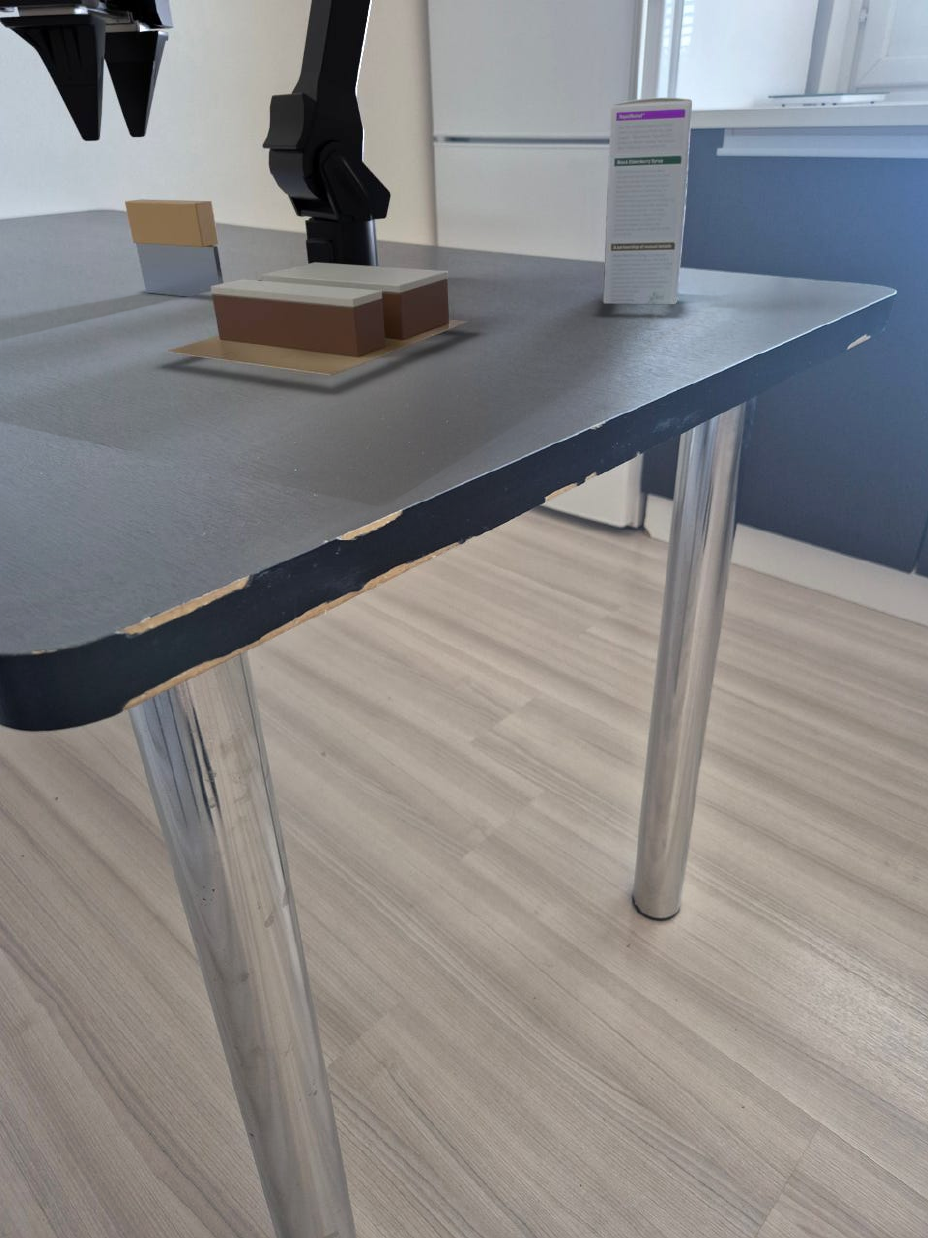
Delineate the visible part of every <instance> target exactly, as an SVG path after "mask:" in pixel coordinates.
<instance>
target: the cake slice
mask: <svg viewBox="0 0 928 1238" xmlns="http://www.w3.org/2000/svg"><path fill="white" fill-rule="evenodd" d="M210 292H211V297H212V302H213V308H214V315H215V320H216V326H217V331H218V336H219V338H220V340H228V341H235V342H243V343H251V344H259V345H267V346H275V347H283V348H290V349H298V350H306V351H314V352H322V353H330V354H338V355H345V356H353V357H360V356H363V355H365V354H368V353H371V352H373V351H376V350H378V349H381V348H384V347H385V346H386V345H385V332H384V318H383V305H382V292H381V291H380V290H367V289H355V288H343V287H331V286H318V285H306V284H294V283H282V282H269V281H262V280H256V279H243V278H241V279H237V280H233V281H227V282H224V283H223V284H219V285H214V286H211V291H210Z"/></svg>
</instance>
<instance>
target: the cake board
mask: <svg viewBox="0 0 928 1238" xmlns="http://www.w3.org/2000/svg"><path fill="white" fill-rule="evenodd" d="M468 322H469V321H467V320H458V319H449V323H446V324H444V325H441V326H438V327H436V328H433V329H431V330H428V331H425V332H423V333H420V334H417V335H415V336H412V337H409V338H407V339H404V340H398V339H389V338H385V345H386V346H385V347H384V348H381V349H378V350H376V351H373V352H371V353H368V354H365V355H363V356H360V357H353V356H345V355H338V354H330V353H322V352H314V351H306V350H298V349H290V348H283V347H275V346H267V345H259V344H251V343H243V342H235V341H228V340H220V338H219V335H217V336H214V337H209V338H206V339H203V340H200V341H197V342H193V343H190V344H185V345H182V346H179V347H176V348H172V349H168V350H166V351H165V353H169V354H177V355H183V356H184V355H185V356H192V357H197V358H198V357H199V358H204V359H212V360H218V361H226V362H232V363H240V364H248V365H254V366H262V367H269V368H275V369H282V370H289V371H297V372H304V373H311V374H318V375H325V376H333V375H334V376H335V375H336V374H339V373H342V372H344V371H346V370H349V369H351V368H354V367H357V366H359V365H363V364H364V363H367V362H370V361H372V360H375V359H377V358H380V357H382V356H386V355H387V354H390V353H393V352H395V351H398V350H400V349H403V348H406V347H408V346H411V345H413V344H415V343H419V342H421V341H424V340H426V339H429V338H432V337H433V336H436V335H438V334H441V333H444V332H446V331H449V330H451V329H454V328H456V327H459V326H462V325H464V324H467V323H468Z"/></svg>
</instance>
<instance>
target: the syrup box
mask: <svg viewBox="0 0 928 1238" xmlns="http://www.w3.org/2000/svg"><path fill="white" fill-rule="evenodd" d="M692 111H693V101H692V99H690V98H680V97H647V98H640V99H639V98H637V99H632V100H627V101H622V102H615V103H613V104H612V105H611V106H610V121H609V122H610V123H609V148H608V170H607V171H608V172H607V194H606V218H605V248H604V249H605V250H604V253H605V254H604V273H603V299H602V300H603V304H615V305H616V304H622V305H623V304H624V305H625V304H626V305H627V304H630V305H631V304H632V305H676V304H677V302H678V296H679V285H680V274H681V264H682V263H681V262H682V251H683V243H684V242H683V240H684V233H685V232H684V231H685V221H686V210H687V209H686V208H687V195H688V182H689V181H688V179H689V164H690V163H689V162H690V145H691V129H692V127H691V125H692Z"/></svg>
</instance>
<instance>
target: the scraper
mask: <svg viewBox="0 0 928 1238" xmlns="http://www.w3.org/2000/svg"><path fill="white" fill-rule="evenodd" d="M124 205H125V209H126V210H125V211H126V214H127V219H128V223H129V224H128V225H129V228H130V233H131V238H132V242H133V243H134V244H135V245H136V251H137V254H138V259H139V264H140V269H141V273H142V279H143V284H144V287H145V292H146V293H147V294H157V295H167V296H175V297H178V296H179V297H192V296H197V295H201V294H205V293H210V292H211V286H214V285H219V284H223V283H225V282H224V277H223V271H222V265H221V260H220V259H221V258H220V253H219V247H218V245H219V237H218V231H217V225H216V218H215V212H214V206H213V202H212V201H211V200H184V199H183V200H180V199H143V198H141V199H133V200H125V201H124Z"/></svg>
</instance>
